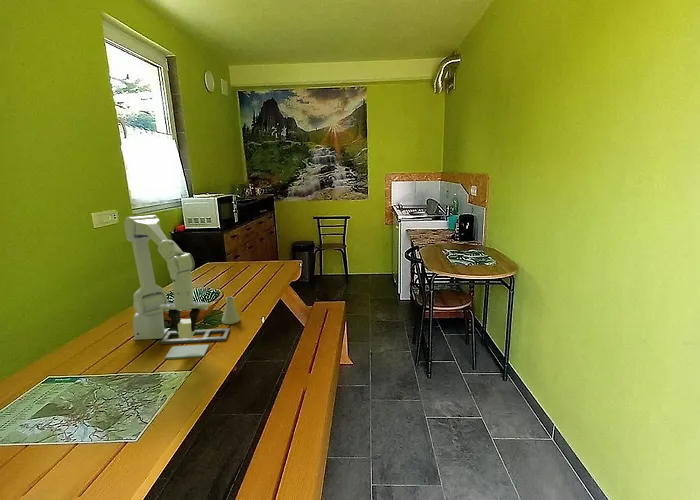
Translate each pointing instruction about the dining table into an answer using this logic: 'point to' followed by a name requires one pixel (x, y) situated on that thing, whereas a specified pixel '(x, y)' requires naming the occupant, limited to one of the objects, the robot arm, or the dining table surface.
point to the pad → (187, 351)
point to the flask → (230, 312)
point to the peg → (185, 328)
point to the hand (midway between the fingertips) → (186, 330)
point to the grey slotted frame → (193, 340)
